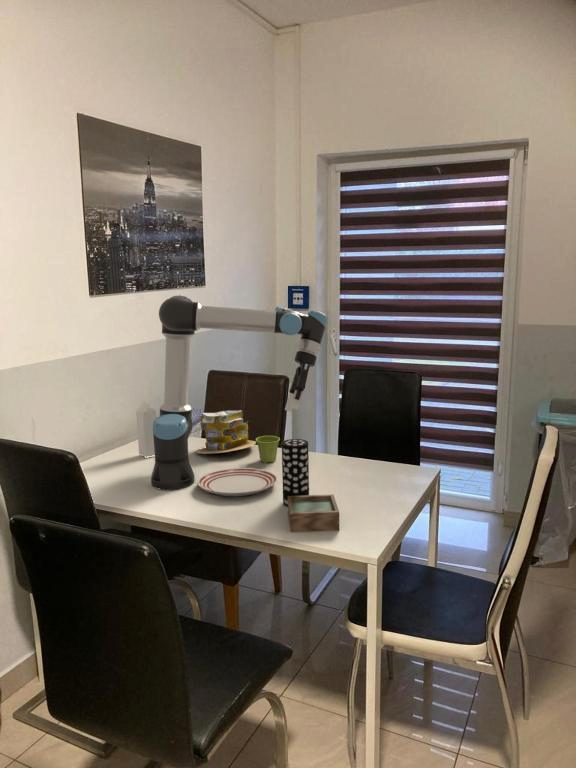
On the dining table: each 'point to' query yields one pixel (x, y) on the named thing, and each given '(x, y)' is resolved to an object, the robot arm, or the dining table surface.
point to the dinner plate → (237, 481)
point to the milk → (145, 429)
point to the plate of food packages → (224, 432)
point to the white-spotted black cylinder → (295, 468)
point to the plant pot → (267, 448)
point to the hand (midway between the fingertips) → (290, 410)
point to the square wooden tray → (313, 513)
